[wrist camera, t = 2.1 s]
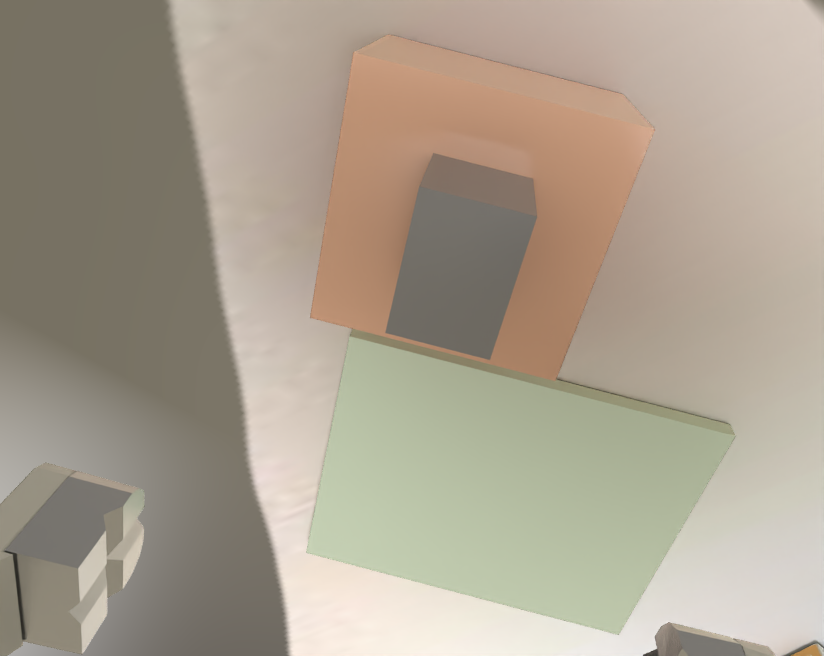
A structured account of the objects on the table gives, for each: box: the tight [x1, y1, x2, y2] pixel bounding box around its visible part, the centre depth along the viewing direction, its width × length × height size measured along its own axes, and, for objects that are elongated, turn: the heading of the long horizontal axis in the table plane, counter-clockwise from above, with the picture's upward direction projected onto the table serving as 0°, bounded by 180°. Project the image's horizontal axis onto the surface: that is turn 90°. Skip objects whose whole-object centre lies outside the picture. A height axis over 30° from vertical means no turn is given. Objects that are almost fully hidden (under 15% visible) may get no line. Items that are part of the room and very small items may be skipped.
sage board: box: [306, 329, 736, 635], centre depth 38 cm, size 20×16×1 cm
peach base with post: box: [310, 34, 655, 381], centre depth 25 cm, size 10×10×11 cm
